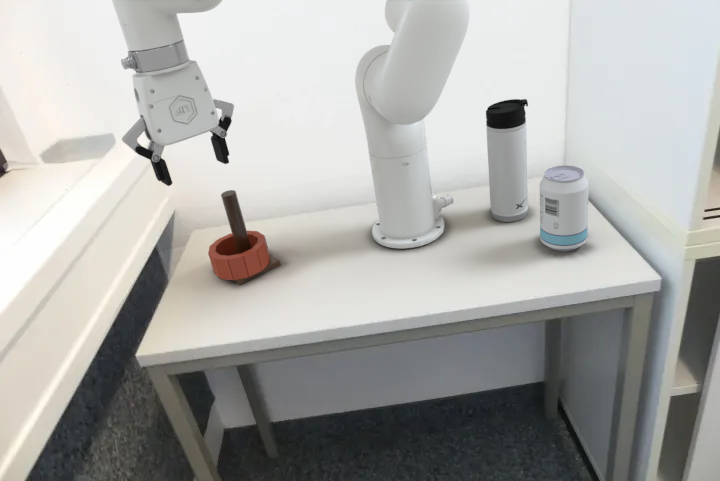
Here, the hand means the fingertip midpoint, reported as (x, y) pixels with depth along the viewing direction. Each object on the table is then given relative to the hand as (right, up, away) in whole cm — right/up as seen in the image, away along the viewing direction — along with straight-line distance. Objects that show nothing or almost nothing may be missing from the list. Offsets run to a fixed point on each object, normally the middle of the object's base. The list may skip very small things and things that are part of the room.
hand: (195, 172), depth 91 cm
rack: (+6, -15, +11) cm, 20 cm away
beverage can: (+57, -11, +2) cm, 58 cm away
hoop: (+5, -15, +10) cm, 18 cm away
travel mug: (+51, -6, +13) cm, 53 cm away
